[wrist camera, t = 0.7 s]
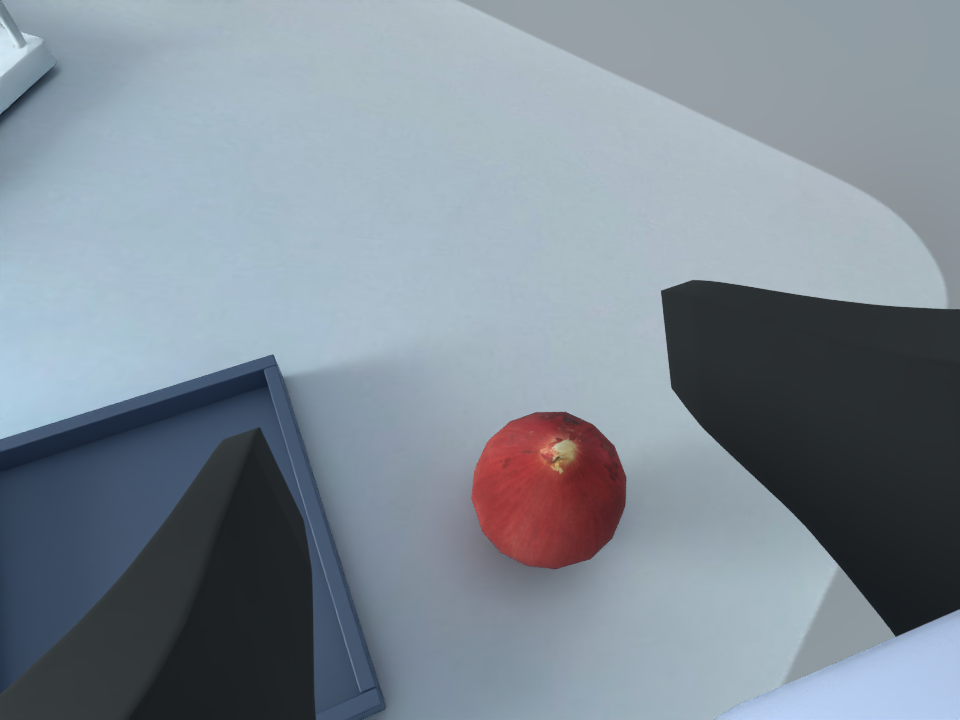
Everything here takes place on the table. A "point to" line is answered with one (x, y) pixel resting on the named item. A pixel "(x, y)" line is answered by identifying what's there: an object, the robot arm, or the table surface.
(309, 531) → the tray
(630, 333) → the table surface
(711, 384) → the robot arm
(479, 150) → the table surface
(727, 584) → the table surface
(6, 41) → the file sorter
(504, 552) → the red pomegranate
